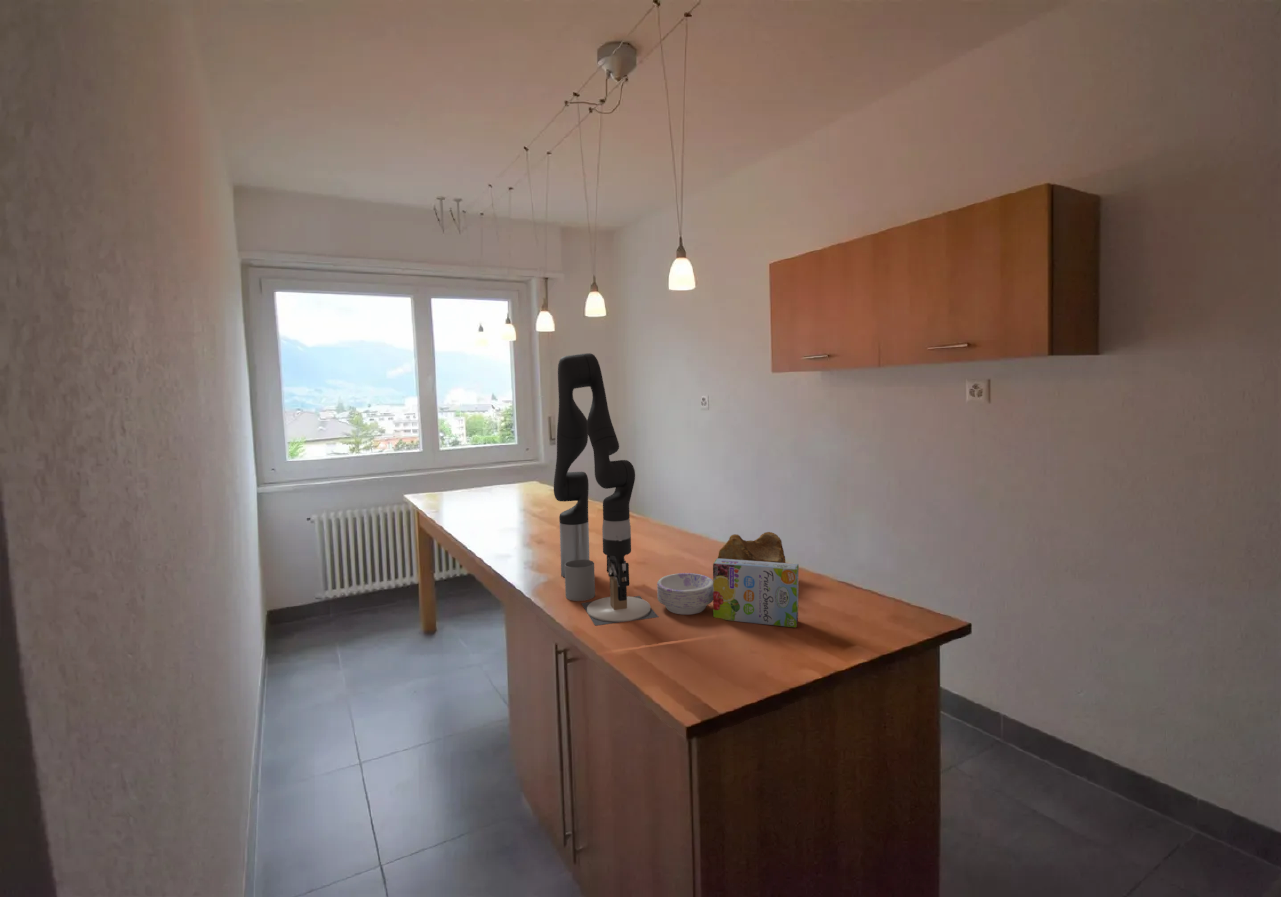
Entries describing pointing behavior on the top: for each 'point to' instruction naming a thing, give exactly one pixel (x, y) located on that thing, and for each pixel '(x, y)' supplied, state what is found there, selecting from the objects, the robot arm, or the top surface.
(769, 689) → the top surface
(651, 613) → the mat
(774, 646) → the top surface
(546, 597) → the top surface
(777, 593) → the snack box
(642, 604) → the lid
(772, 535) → the rough brown rock
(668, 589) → the paper bowls
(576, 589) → the cup
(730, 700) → the top surface
